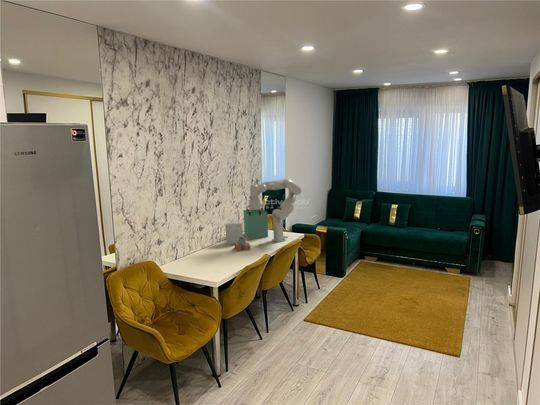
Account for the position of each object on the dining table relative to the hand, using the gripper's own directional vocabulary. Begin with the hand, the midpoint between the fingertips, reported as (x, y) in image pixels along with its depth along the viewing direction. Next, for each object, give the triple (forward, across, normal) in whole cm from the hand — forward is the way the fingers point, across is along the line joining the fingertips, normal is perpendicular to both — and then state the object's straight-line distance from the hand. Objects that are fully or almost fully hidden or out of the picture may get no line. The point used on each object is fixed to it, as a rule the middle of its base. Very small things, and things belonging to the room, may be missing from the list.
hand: (255, 215), depth 367 cm
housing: (+24, -16, -12) cm, 31 cm away
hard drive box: (+29, -19, +10) cm, 36 cm away
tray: (+28, -16, -12) cm, 35 cm away
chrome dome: (+29, +2, -11) cm, 31 cm away
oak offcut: (+28, -10, -3) cm, 30 cm away
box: (+29, +8, +33) cm, 44 cm away
